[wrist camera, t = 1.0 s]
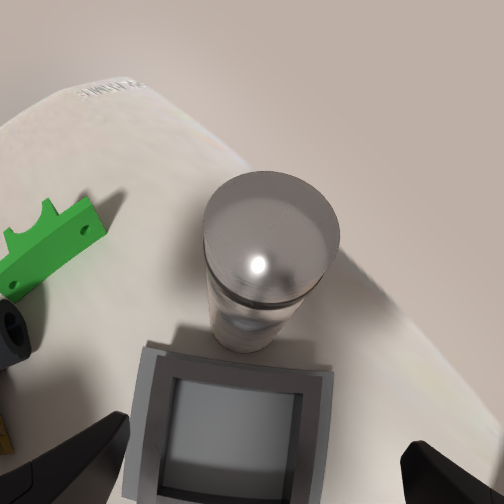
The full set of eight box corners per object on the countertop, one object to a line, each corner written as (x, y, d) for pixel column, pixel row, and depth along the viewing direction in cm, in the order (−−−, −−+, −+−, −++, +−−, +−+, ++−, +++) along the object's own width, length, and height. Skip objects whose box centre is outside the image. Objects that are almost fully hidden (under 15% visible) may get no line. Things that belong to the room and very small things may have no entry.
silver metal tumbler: (216, 359, 21) (214, 300, 10) (204, 292, 23) (195, 176, 12) (286, 346, 22) (360, 275, 11) (270, 282, 24) (316, 167, 13)
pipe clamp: (91, 209, 26) (76, 178, 22) (107, 235, 25) (92, 204, 21) (4, 274, 22) (-21, 250, 18) (15, 304, 21) (-13, 283, 17)
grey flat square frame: (314, 516, 15) (317, 518, 15) (123, 494, 15) (121, 496, 14) (331, 372, 21) (333, 371, 21) (144, 347, 21) (143, 346, 20)
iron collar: (295, 512, 15) (304, 523, 13) (145, 495, 15) (136, 505, 13) (311, 379, 20) (322, 376, 18) (163, 360, 20) (157, 354, 18)
